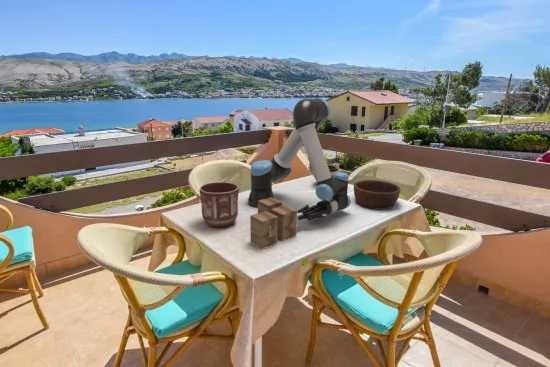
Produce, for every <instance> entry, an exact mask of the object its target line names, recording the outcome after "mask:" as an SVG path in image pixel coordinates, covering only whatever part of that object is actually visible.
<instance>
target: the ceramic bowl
mask: <svg viewBox="0 0 550 367" xmlns="http://www.w3.org/2000/svg"><path fill="white" fill-rule="evenodd" d="M327 165H328V168H329V171H330V174H331V177H332V179H333V175H334V173H336V172H342V171H343V170H342V169H341V168H339V167H338V166H336V165H333V164H328V163H327ZM312 176H313V178H314V179H315V176H314V173H313V172H312Z"/></svg>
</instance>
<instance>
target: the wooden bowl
mask: <svg viewBox="0 0 550 367" xmlns="http://www.w3.org/2000/svg"><path fill="white" fill-rule="evenodd" d="M400 192H401V188H400V186H398V185H397V184H395V183H392V182H389V181H386V180H385V181H383V180H377V179H364V180H358V181H356V182H354V184H353V194H354V195H353V196H354V198H355V200H356V203H358V204H359V205H360V206H362V207H365V208H368V209H372V210H387V209H392V207H394V206H395V205H396V204H397V202H398V199H399V197H400Z"/></svg>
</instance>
